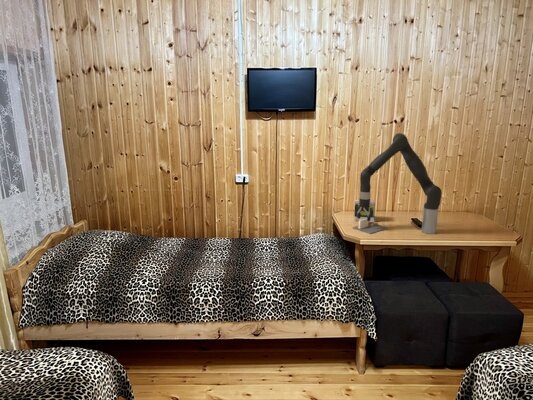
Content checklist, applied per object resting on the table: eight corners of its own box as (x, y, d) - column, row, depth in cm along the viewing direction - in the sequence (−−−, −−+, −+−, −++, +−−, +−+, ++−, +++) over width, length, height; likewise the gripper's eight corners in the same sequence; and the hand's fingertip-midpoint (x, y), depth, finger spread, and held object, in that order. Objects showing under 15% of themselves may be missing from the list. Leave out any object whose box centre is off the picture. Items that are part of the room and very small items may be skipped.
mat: (370, 223, 286) (370, 222, 285) (388, 228, 273) (388, 227, 273) (352, 228, 274) (352, 227, 274) (370, 234, 261) (370, 233, 261)
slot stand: (371, 222, 284) (371, 220, 283) (378, 224, 279) (378, 222, 279) (365, 224, 280) (365, 222, 279) (371, 226, 275) (372, 224, 275)
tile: (366, 217, 276) (358, 220, 271) (368, 218, 274) (360, 220, 269) (365, 225, 277) (357, 228, 272) (368, 226, 276) (359, 228, 271)
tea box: (373, 218, 297) (375, 200, 293) (374, 222, 287) (375, 203, 284) (354, 217, 300) (355, 199, 297) (353, 221, 291) (354, 202, 287)
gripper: (376, 198, 265) (375, 221, 269) (360, 195, 276) (359, 216, 280) (369, 200, 261) (368, 223, 265) (353, 196, 272) (352, 218, 276)
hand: (363, 219), depth 272 cm, fingers open, 8 cm apart
